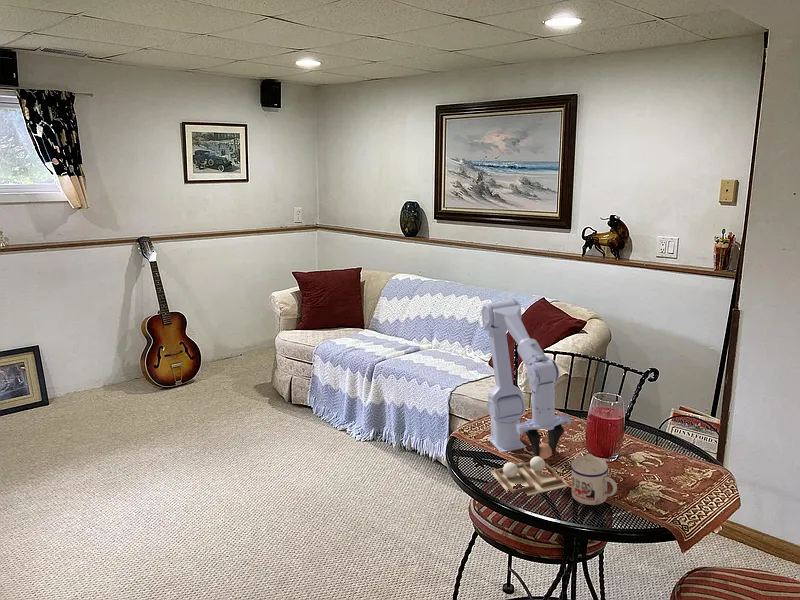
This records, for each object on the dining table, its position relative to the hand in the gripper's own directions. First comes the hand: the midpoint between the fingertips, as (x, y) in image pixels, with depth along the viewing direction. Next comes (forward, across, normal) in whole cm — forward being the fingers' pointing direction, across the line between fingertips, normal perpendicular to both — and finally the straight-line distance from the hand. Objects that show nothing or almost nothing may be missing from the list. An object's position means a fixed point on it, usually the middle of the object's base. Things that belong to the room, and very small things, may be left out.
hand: (544, 452), depth 175 cm
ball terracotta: (+1, 0, 0) cm, 1 cm away
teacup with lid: (+9, +8, -12) cm, 17 cm away
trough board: (+8, -4, +2) cm, 9 cm away
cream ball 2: (+8, 0, +5) cm, 9 cm away
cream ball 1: (+8, -8, +5) cm, 12 cm away
